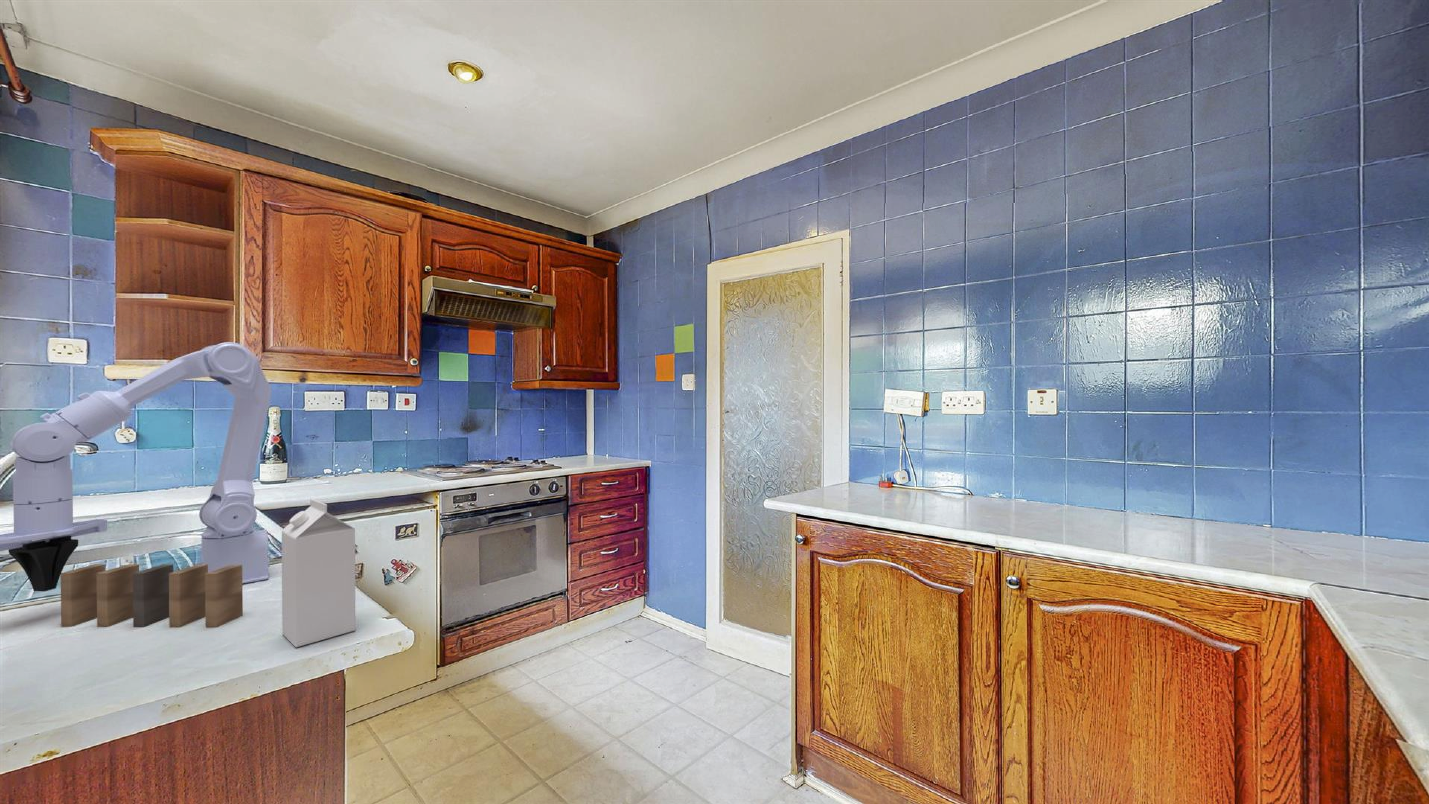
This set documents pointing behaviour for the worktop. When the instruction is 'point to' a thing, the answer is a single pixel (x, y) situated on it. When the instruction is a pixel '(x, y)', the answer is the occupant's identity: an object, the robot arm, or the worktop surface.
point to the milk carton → (317, 576)
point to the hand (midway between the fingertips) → (44, 589)
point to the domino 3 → (187, 595)
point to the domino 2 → (115, 595)
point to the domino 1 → (79, 595)
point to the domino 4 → (223, 595)
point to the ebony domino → (151, 595)
